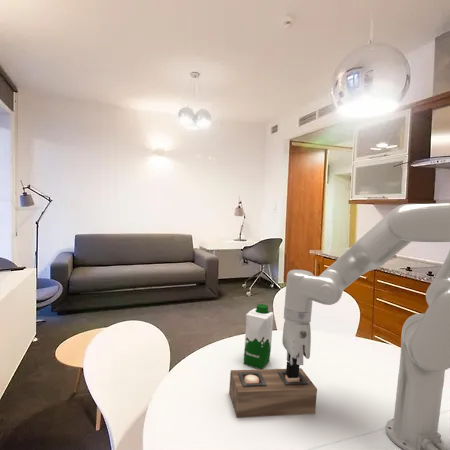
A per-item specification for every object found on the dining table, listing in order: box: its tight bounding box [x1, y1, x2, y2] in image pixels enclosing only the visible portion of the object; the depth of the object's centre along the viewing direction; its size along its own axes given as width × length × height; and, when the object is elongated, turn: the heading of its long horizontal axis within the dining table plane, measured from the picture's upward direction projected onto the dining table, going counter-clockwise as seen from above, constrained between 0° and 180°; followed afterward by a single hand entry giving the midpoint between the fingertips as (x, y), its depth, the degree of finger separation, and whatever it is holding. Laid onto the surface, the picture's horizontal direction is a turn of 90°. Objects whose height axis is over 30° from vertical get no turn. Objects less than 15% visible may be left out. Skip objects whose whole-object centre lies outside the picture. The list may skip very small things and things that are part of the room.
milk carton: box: [243, 303, 275, 369], centre depth 116 cm, size 9×9×20 cm
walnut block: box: [228, 367, 318, 418], centre depth 94 cm, size 11×22×7 cm, turn 100°
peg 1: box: [245, 375, 259, 383], centre depth 93 cm, size 4×4×7 cm
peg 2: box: [285, 375, 300, 382], centre depth 95 cm, size 4×4×7 cm
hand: (292, 376), depth 95 cm, fingers closed
